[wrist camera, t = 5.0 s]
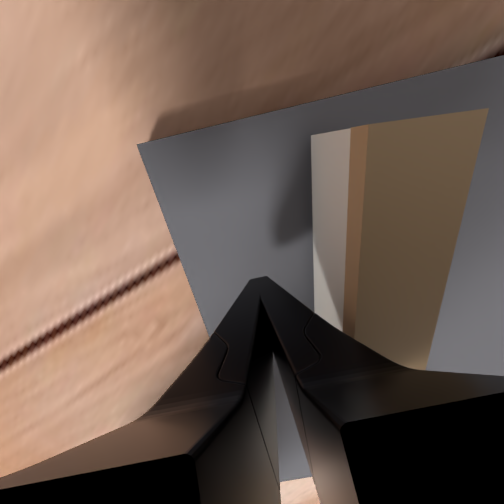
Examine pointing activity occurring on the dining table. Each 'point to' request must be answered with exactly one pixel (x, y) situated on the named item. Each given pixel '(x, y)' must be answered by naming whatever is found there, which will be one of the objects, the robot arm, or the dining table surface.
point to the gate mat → (301, 221)
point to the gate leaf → (390, 226)
